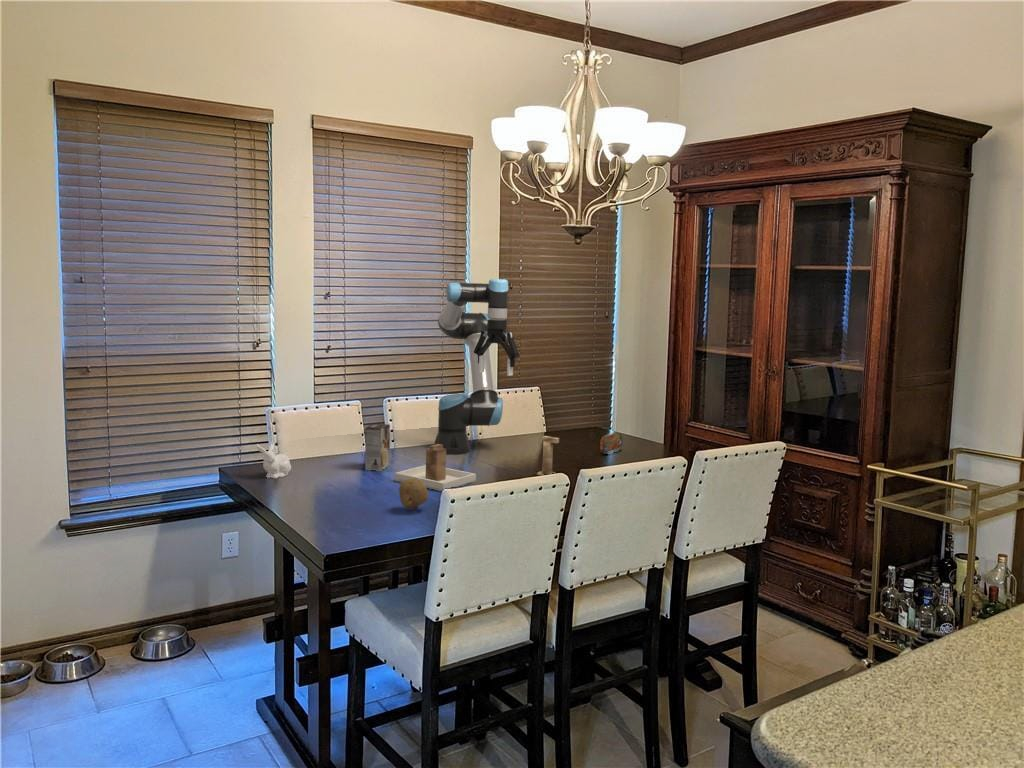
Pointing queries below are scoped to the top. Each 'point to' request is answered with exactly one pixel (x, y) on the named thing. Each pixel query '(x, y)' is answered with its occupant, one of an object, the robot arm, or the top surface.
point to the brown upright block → (436, 462)
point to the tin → (610, 442)
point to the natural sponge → (412, 493)
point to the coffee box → (377, 447)
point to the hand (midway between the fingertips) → (495, 373)
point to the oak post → (547, 454)
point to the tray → (452, 480)
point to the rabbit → (275, 463)
